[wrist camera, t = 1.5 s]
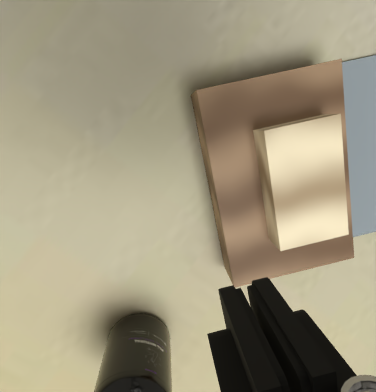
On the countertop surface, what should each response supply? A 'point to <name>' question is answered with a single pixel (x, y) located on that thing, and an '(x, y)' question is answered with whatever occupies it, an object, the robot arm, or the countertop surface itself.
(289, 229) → the maple tile
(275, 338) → the robot arm
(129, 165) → the countertop surface
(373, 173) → the slate mat
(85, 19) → the countertop surface
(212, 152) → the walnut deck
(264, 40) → the countertop surface
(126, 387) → the supplement bottle
